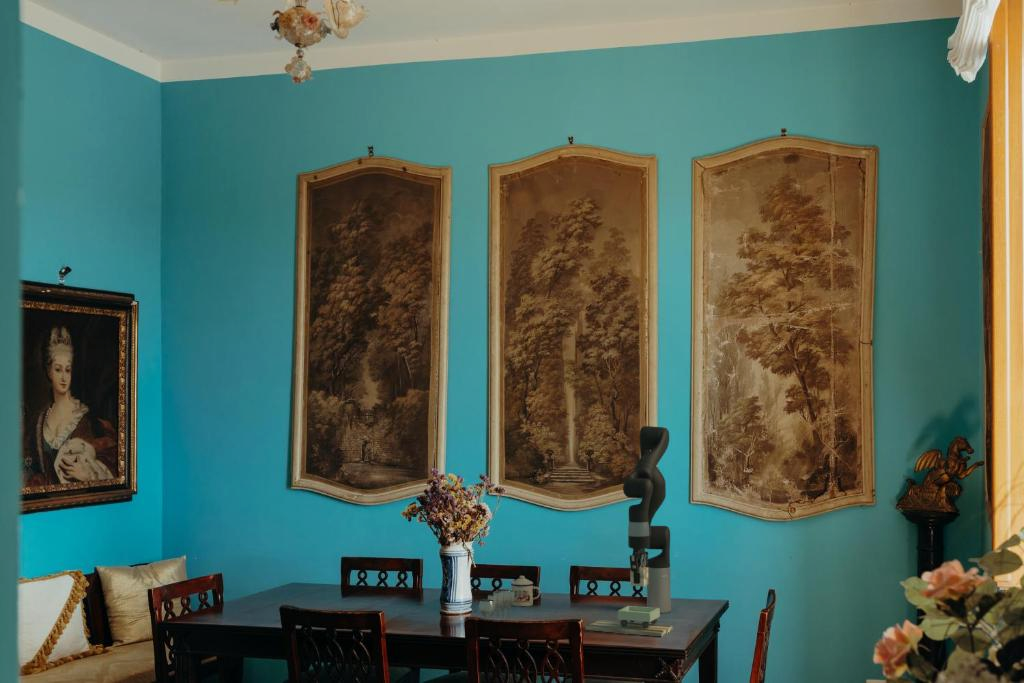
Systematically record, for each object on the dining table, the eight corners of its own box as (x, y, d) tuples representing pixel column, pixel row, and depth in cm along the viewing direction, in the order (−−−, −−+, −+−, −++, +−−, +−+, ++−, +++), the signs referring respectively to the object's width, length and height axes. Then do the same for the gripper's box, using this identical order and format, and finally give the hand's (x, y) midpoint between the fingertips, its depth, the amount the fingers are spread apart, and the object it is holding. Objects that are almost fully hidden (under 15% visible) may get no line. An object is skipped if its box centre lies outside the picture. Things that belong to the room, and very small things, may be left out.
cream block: (635, 583, 384) (634, 566, 384) (648, 584, 382) (648, 567, 382) (630, 585, 379) (630, 568, 380) (643, 586, 377) (643, 569, 378)
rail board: (599, 624, 393) (599, 618, 394) (672, 630, 381) (672, 624, 382) (585, 630, 381) (585, 625, 381) (661, 637, 369) (660, 631, 369)
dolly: (628, 621, 387) (627, 605, 388) (659, 623, 382) (659, 608, 383) (617, 626, 377) (617, 610, 378) (650, 629, 372) (650, 613, 373)
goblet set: (503, 621, 399) (503, 586, 400) (517, 622, 397) (517, 586, 398) (476, 636, 373) (476, 597, 374) (491, 637, 371) (491, 598, 372)
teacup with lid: (510, 606, 431) (510, 577, 432) (511, 602, 440) (511, 574, 441) (539, 607, 430) (539, 577, 431) (540, 603, 439) (540, 574, 440)
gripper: (642, 536, 374) (643, 586, 373) (654, 532, 387) (655, 580, 386) (622, 535, 377) (622, 584, 376) (635, 532, 390) (635, 579, 389)
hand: (639, 582), depth 381 cm, fingers closed on cream block, 5 cm apart
